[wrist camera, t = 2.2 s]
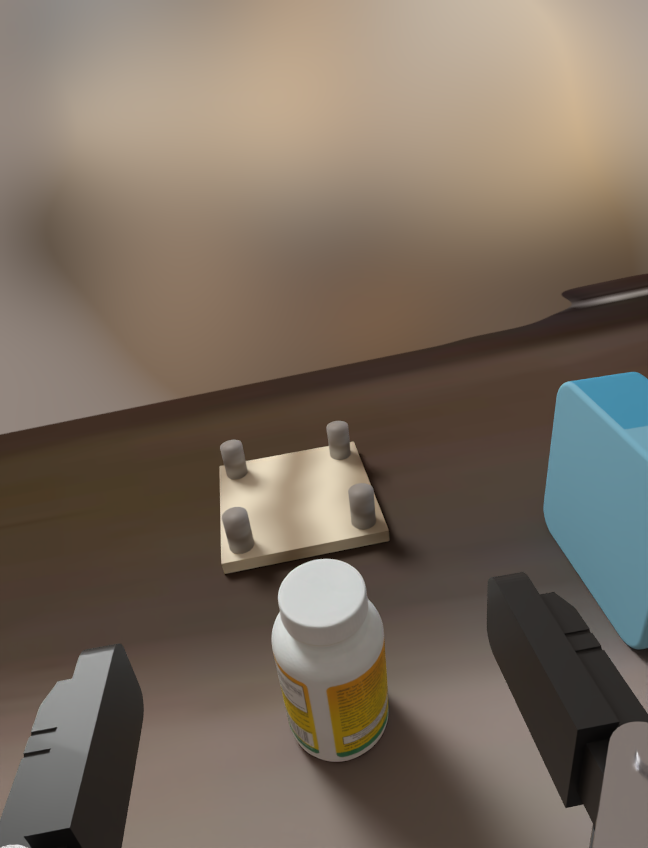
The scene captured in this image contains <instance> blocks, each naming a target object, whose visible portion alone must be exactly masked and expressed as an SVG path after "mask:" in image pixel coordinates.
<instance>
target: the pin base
mask: <svg viewBox="0 0 648 848" xmlns="http://www.w3.org/2000/svg"><path fill="white" fill-rule="evenodd" d="M327 434H328V442H329V446H327V447H321V448H316V449H310V450H305V451H300V452H294V453H289V454H283V455H278V456H272V457H267V458H262V459H256V460H251V461H245V456H244V452H243V447H242V443H241V442H240V441H238V440H229V441H226V442H224V443H223V444H222V445H221V446H220V449H221V454H222V458H223V462H224V466H220V513H221V564H222V567H223V571H224V574H227V573H232V572H237V571H242V570H247V569H252V568H257V567H262V566H267V565H272V564H277V563H282V562H287V561H292V560H297V559H302V558H307V557H312V556H317V555H322V554H327V553H332V552H337V551H341V550H346V549H351V548H356V547H361V546H366V545H371V544H376V543H381V542H386V541H389V530H388V527H387V525H386V522H385V519H384V517H383V514H382V512H381V509H380V507H379V504H378V502H377V499H376V497H375V494H374V490H373V487H372V486H371V484H370V482H369V479H368V477H367V474H366V472H365V469H364V466H363V464H362V461H361V459H360V456H359V454H358V451H357V449H356V446H355V444H354V442H350V441H349V431H348V424H347V423H346V422H343V421H334V422H331V423H329V424H328V425H327Z"/></svg>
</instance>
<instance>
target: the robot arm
mask: <svg viewBox="0 0 648 848" xmlns="http://www.w3.org/2000/svg"><path fill="white" fill-rule="evenodd" d="M487 633H488V638H489V642H490V646H491V649H492V652H493V654H494V657H495V659H496V661H497V663H498V665H499V667H500V669H501V672H502V674H503V676H504V678H505V680H506V682H507V684H508V686H509V689H510V691H511V693H512V695H513V697H514V699H515V701H516V704H517V706H518V708H519V710H520V712H521V714H522V716H523V718H524V721H525V723H526V725H527V727H528V729H529V731H530V733H531V735H532V738H533V740H534V742H535V744H536V746H537V748H538V750H539V752H540V755H541V757H542V759H543V761H544V763H545V765H546V767H547V769H548V772H549V774H550V776H551V778H552V780H553V782H554V784H555V786H556V789H557V791H558V793H559V795H560V797H561V799H562V801H563V803H564V806H565V808H568V807H573V806H578V805H583V804H584V806H585V808H586V810H587V812H588V814H589V816H590V818H591V820H592V822H593V826H592V832H591V838H590V845H589V848H648V714H647V712H646V711H645V709H644V708H643V706H642V705H641V704H640V702H639V701H638V699H637V698H636V696H635V695H634V693H633V692H632V690H631V689H630V687H629V686H628V685H627V683H626V682H625V680H624V679H623V677H622V676H621V674H620V673H619V671H618V670H617V668H616V667H615V666H614V664H613V663H612V661H611V660H610V658H609V657H608V655H607V654H606V652H605V651H604V650H602V649H601V645H600V644H599V642H598V641H597V639H596V638H595V636H594V635H593V633H590V630H589V628H588V626H587V625H586V623H585V622H584V620H583V619H582V617H581V616H580V614H579V613H578V611H577V610H576V609H575V608H574V607H573V606H572V605H570V604H569V603H568V602H566V601H565V600H564V599H562V598H561V597H560V596H558V595H557V594H556V593H554V592H552V593H546V594H541V595H539V593H538V591H537V590H536V588H535V587H534V585H533V583H532V582H531V580H530V579H529V577H528V576H527V575H526V574H525V573H524V572H520V573H515V574H509V575H504V576H498V577H492V578H490V579H489V580H488V598H487ZM143 712H144V707H143V696H142V692H141V688H140V686H139V683H138V681H137V678H136V676H135V674H134V671H133V669H132V666H131V664H130V661H129V659H128V657H127V654H126V652H125V649H124V647H123V646H122V645H121V644H114V645H109V646H103V647H98V648H92V649H87V650H84V651H82V653H81V654H80V656H79V659H78V662H77V665H76V668H75V672H74V675H73V678H72V679H69V680H64V681H58V682H57V684H56V685H55V686H54V688H53V689H52V691H51V692H50V693H49V695H48V696H47V697H46V699H45V700H44V701H43V703H42V704H41V705H40V708H39V711H38V713H37V716H36V719H35V722H34V725H33V728H32V731H31V737H29V739H28V742H27V745H26V748H25V751H24V758H23V759H21V762H20V765H19V768H18V771H17V773H16V776H15V779H14V782H13V785H12V788H11V791H10V793H9V796H8V799H7V802H6V805H5V808H4V811H3V813H2V816H1V819H0V848H121V847H122V841H123V835H124V829H125V824H126V818H127V812H128V806H129V800H130V794H131V788H132V782H133V776H134V770H135V764H136V758H137V752H138V747H139V741H140V735H141V729H142V723H143Z"/></svg>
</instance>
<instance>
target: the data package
mask: <svg viewBox="0 0 648 848" xmlns="http://www.w3.org/2000/svg"><path fill="white" fill-rule="evenodd" d="M544 516H545V520H546V524H547V526H548V529H549V531H550V533H551V534H552V536H553V537H554V539H555V540H556V542H557V543H558V545H559V546H560V548H561V549H562V551H563V552H564V554H565V555H566V557H567V558H568V560H569V561H570V563H571V564H572V565H573V567H574V568H575V570H576V571H577V573H578V574H579V576H580V577H581V579H582V580H583V582H584V583H585V585H586V586H587V588H588V589H589V591H590V592H591V594H592V595H593V597H594V598H595V600H596V601H597V603H598V604H599V606H600V607H601V609H602V610H603V612H604V613H605V615H606V616H607V618H608V619H609V621H610V622H611V624H612V625H613V626H614V628H615V629H616V631H617V632H618V634H619V635H620V637H621V638H622V639H623V641H624V642H625V643H626V644H627V645H629V646H630V647H632V648H634V649H645V648H648V379H647V378H645V377H644V376H643V375H641V374H639V373H637V372H628V373H622V374H615V375H609V376H602V377H596V378H589V379H583V380H576V381H570V382H566V383H564V384H563V385H561V387H560V388H559V390H558V393H557V399H556V407H555V415H554V424H553V432H552V440H551V448H550V457H549V465H548V473H547V482H546V490H545V498H544Z"/></svg>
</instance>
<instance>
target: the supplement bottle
mask: <svg viewBox="0 0 648 848" xmlns="http://www.w3.org/2000/svg"><path fill="white" fill-rule="evenodd" d="M278 603H279V609H280V612H279V614H278V616H277V618H276V620H275V623H274V626H273V630H272V649H273V653H274V658H275V663H276V667H277V672H278V676H279V681H280V684H281V689H282V694H283V698H284V703H285V708H286V712H287V717H288V721H289V724H290V728H291V731H292V733H293V735H294V737H295V739H296V740H297V742H298V743H299V744H300V746H301V747H302V748H303V749H304V750H305V751H307V752H308V753H309V754H311V755H313V756H315V757H317V758H319V759H322V760H326V761H331V762H341V761H348V760H351V759H353V758H356V757H358V756H360V755H362V754H363V753H365V752H367V751H368V750H369V749H371V748H372V747H373V746H374V745H375V744H376V743H377V742H378V740H379V739H380V738H381V736H382V734H383V732H384V730H385V728H386V724H387V721H388V713H389V708H388V687H387V673H386V659H385V643H384V630H383V624H382V620H381V617H380V615H379V613H378V611H377V609H376V608H375V606H374V605H373V604H372V603H371V602H370V601H369V600H368V599H367V592H366V586H365V583H364V580H363V578H362V576H361V575H360V573H359V572H358V571H357V570H356V569H355V568H354V567H352V566H351V565H349V564H347V563H345V562H342V561H339V560H334V559H318V560H313V561H309V562H307V563H304V564H302V565H300V566H298V567H296V568H295V569H294V570H292V571H291V572H290V573H289V574H288V575H287V576H286V577H285V579H284V580H283V582H282V584H281V586H280V589H279V593H278Z"/></svg>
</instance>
